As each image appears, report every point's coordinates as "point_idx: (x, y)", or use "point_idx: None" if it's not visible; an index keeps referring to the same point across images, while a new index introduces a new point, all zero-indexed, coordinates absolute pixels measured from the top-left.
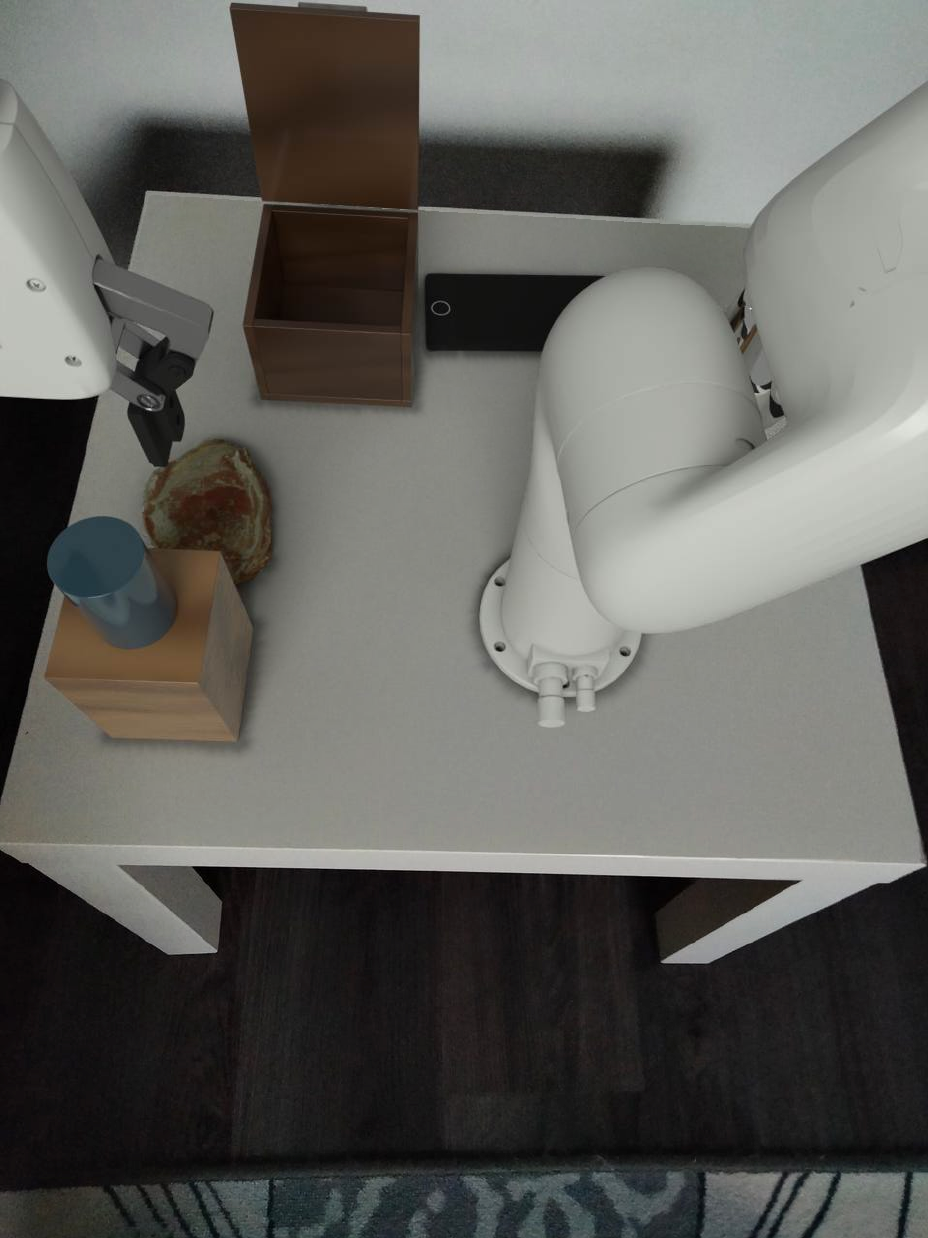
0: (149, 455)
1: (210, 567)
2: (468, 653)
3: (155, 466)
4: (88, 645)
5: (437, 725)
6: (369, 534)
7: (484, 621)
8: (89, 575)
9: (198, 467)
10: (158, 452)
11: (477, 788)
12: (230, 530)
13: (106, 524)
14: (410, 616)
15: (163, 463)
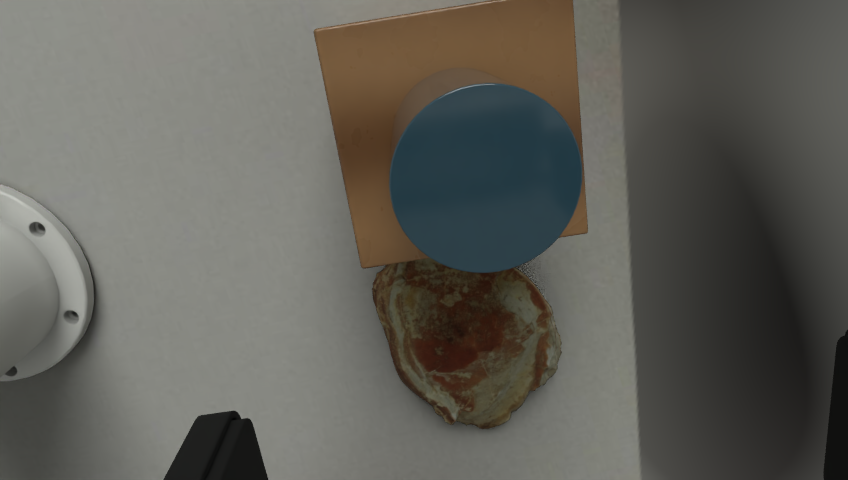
0: (209, 449)
1: (366, 238)
2: (87, 214)
3: (226, 412)
4: (516, 62)
5: (90, 106)
6: (269, 345)
7: (69, 259)
8: (483, 136)
9: (499, 387)
10: (169, 468)
11: (4, 27)
12: (430, 313)
13: (488, 254)
14: (179, 248)
15: (192, 427)
